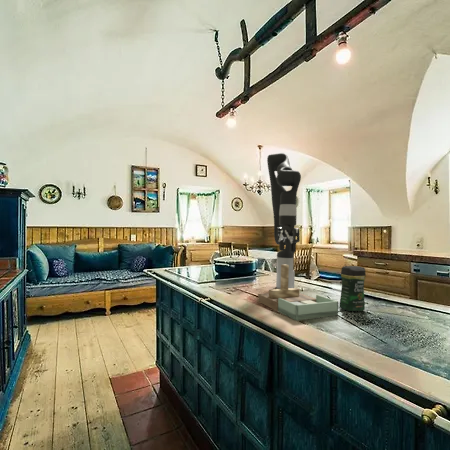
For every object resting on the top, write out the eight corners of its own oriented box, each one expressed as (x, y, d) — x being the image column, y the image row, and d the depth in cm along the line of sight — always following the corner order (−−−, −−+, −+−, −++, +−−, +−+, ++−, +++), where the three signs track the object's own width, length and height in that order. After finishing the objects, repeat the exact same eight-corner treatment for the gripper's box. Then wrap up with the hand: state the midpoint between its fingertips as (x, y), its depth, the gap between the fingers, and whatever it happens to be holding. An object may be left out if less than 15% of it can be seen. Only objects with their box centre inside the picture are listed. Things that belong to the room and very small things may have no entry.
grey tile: (297, 305, 123) (297, 301, 123) (304, 308, 118) (304, 304, 118) (287, 306, 121) (287, 302, 121) (294, 309, 116) (294, 305, 116)
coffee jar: (349, 313, 120) (350, 267, 120) (336, 307, 127) (337, 265, 127) (368, 311, 123) (369, 267, 123) (354, 306, 130) (355, 264, 130)
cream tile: (310, 303, 126) (310, 300, 126) (318, 306, 121) (318, 303, 121) (300, 304, 124) (300, 301, 124) (308, 307, 119) (308, 304, 119)
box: (317, 307, 127) (317, 294, 127) (338, 315, 116) (338, 301, 116) (278, 311, 120) (278, 298, 120) (296, 320, 109) (296, 305, 109)
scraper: (295, 294, 136) (296, 263, 136) (299, 295, 133) (300, 264, 133) (268, 296, 130) (269, 264, 130) (272, 298, 128) (273, 265, 128)
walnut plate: (294, 298, 142) (294, 291, 142) (316, 307, 128) (317, 299, 128) (258, 301, 135) (258, 294, 135) (277, 311, 120) (277, 302, 120)
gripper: (304, 214, 127) (304, 252, 127) (285, 215, 140) (284, 249, 140) (290, 214, 124) (289, 252, 124) (272, 215, 137) (271, 249, 137)
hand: (287, 251), depth 132 cm, fingers open, 8 cm apart
